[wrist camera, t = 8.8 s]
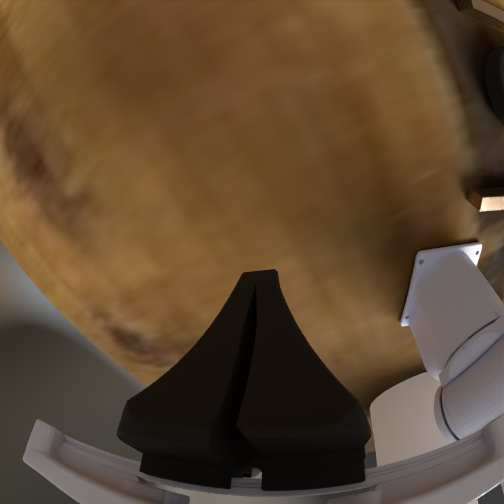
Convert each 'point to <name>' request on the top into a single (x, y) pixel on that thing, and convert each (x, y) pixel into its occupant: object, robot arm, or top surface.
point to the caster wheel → (496, 80)
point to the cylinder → (406, 421)
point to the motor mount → (474, 5)
